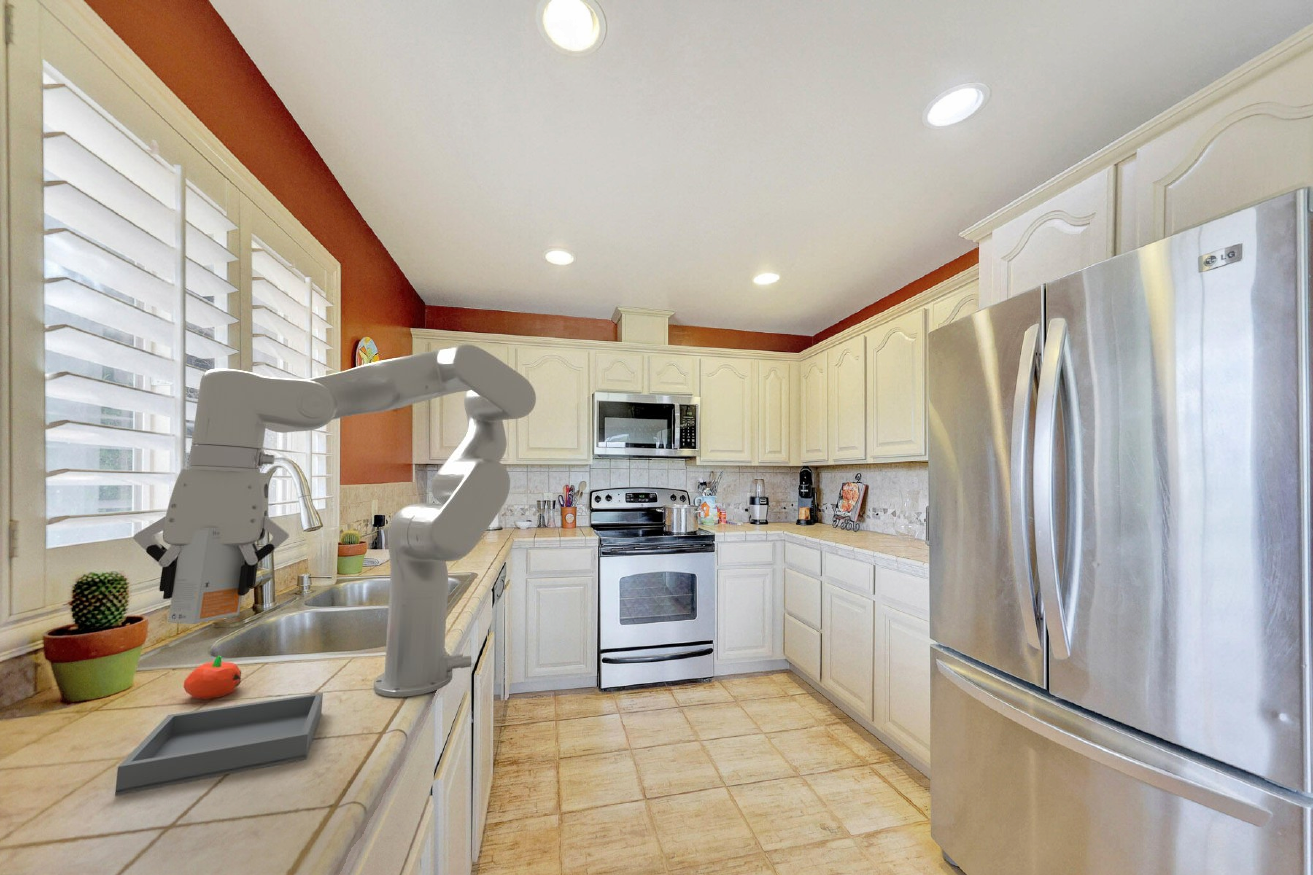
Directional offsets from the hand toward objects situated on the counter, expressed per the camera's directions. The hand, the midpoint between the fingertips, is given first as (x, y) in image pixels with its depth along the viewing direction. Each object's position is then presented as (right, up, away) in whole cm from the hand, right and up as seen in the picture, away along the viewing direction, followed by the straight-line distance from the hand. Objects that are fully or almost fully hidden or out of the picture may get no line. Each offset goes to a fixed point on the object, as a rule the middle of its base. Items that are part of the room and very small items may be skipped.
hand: (208, 594), depth 67 cm
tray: (+3, -21, 0) cm, 21 cm away
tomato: (-14, -22, +17) cm, 31 cm away
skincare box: (0, -3, -1) cm, 3 cm away
